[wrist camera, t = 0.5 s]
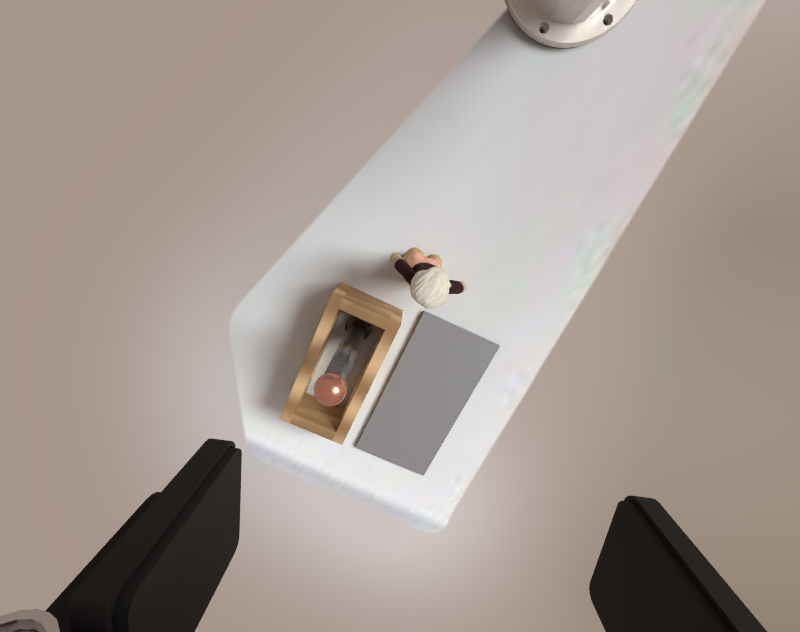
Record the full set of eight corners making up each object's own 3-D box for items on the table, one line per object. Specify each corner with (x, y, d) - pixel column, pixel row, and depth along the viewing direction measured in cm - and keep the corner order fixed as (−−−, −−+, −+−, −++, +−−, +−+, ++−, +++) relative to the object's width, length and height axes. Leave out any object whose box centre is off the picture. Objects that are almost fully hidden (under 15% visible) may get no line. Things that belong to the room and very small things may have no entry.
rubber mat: (424, 310, 44) (424, 312, 43) (498, 344, 45) (499, 346, 44) (356, 444, 50) (355, 447, 49) (423, 472, 51) (423, 475, 50)
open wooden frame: (341, 282, 43) (331, 293, 39) (402, 310, 44) (400, 324, 39) (293, 396, 48) (279, 418, 43) (349, 420, 49) (341, 444, 44)
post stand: (351, 310, 44) (315, 373, 29) (375, 321, 45) (352, 389, 29) (341, 332, 45) (301, 405, 30) (365, 342, 45) (338, 420, 30)
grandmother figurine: (388, 275, 43) (377, 307, 31) (395, 241, 42) (386, 260, 30) (456, 289, 43) (471, 326, 31) (465, 255, 42) (484, 280, 30)
